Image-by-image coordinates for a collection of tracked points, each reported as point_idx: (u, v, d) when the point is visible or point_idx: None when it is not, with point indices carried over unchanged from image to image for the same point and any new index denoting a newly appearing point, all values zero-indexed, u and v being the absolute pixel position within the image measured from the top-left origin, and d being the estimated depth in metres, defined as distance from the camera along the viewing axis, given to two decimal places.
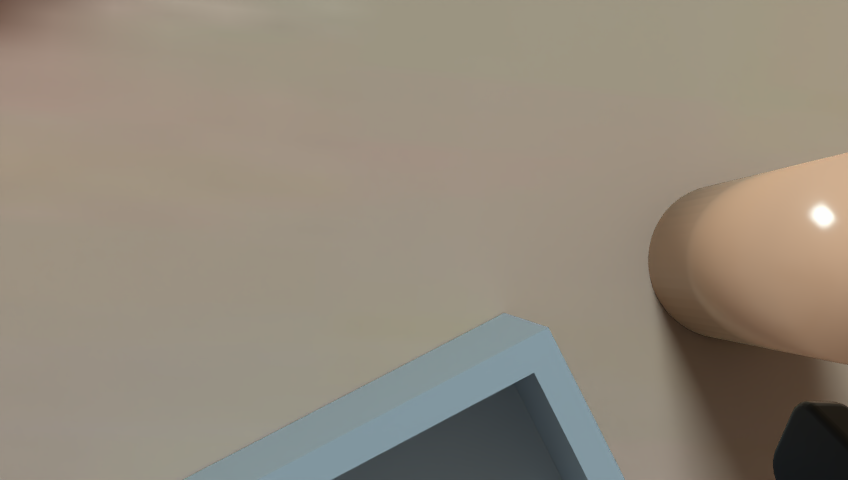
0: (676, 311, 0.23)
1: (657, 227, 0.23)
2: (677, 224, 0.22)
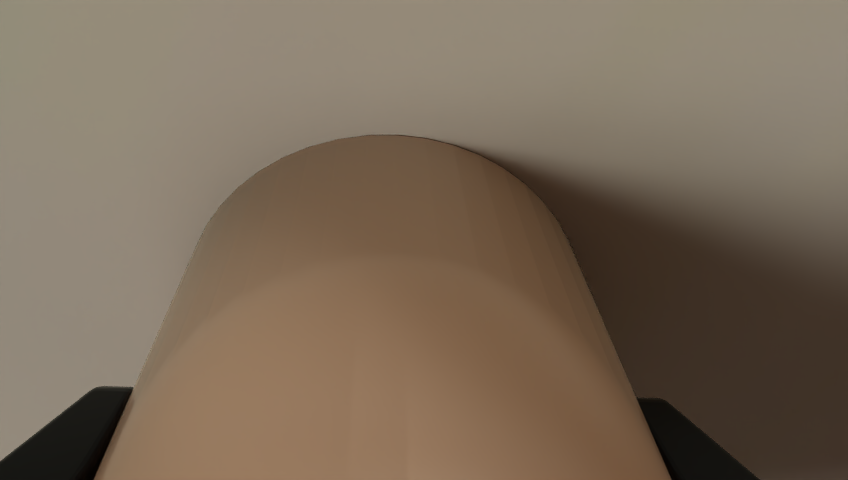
0: None
1: None
2: None
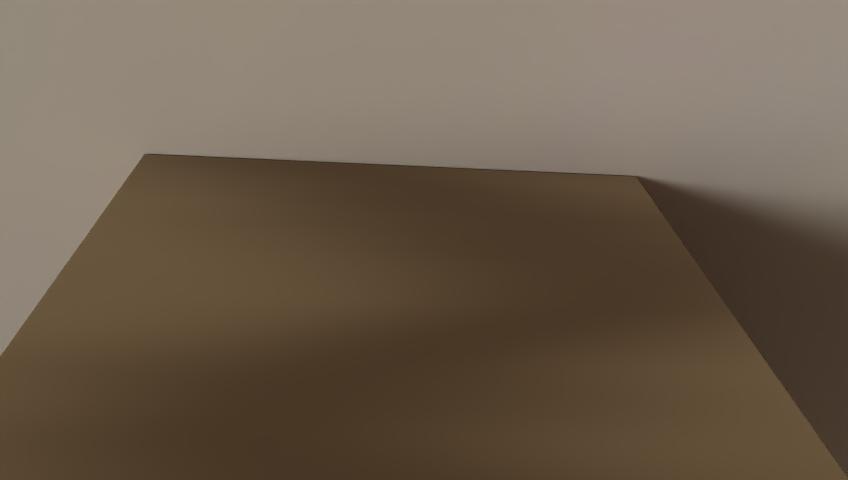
0: None
1: None
2: None
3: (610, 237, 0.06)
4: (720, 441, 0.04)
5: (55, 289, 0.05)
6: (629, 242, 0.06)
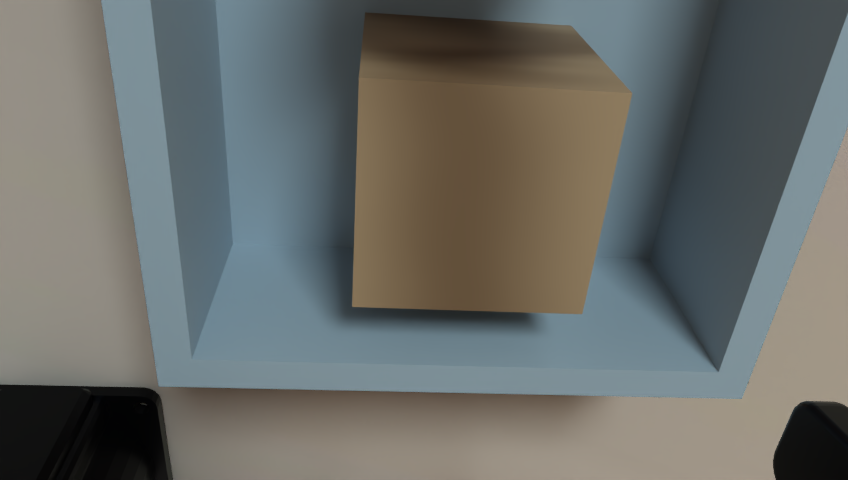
0: None
1: None
2: None
3: (556, 38, 0.16)
4: (582, 70, 0.14)
5: (362, 40, 0.15)
6: (563, 39, 0.16)
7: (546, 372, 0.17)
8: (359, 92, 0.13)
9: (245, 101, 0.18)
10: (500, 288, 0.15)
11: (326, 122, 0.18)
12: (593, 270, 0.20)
